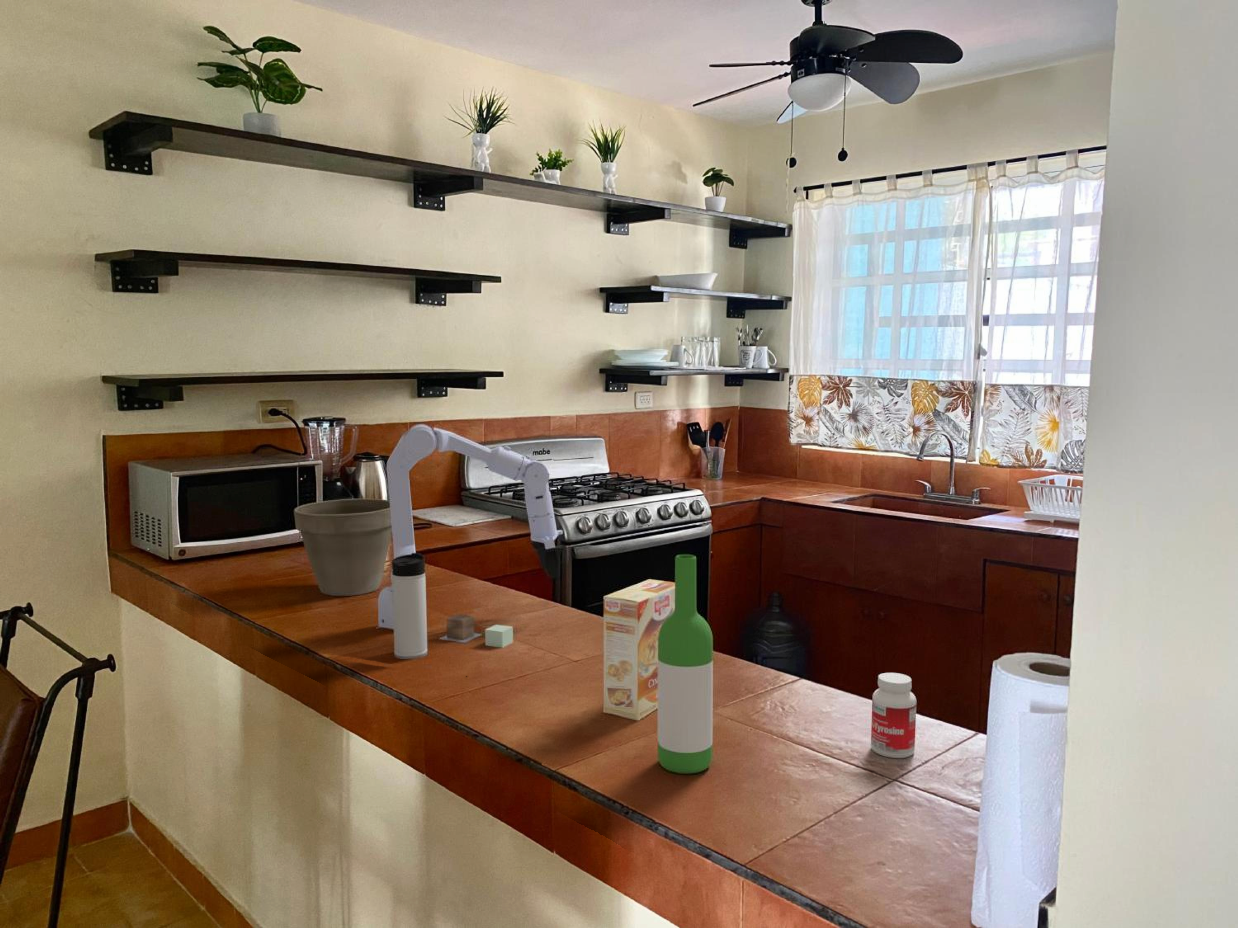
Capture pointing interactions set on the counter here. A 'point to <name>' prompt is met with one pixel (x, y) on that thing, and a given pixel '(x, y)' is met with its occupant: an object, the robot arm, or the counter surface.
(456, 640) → the white square board
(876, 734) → the pill bottle
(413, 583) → the travel mug
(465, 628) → the walnut block
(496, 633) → the green block
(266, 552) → the counter surface
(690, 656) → the wine bottle
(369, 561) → the plant pot
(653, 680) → the coffeecake box
